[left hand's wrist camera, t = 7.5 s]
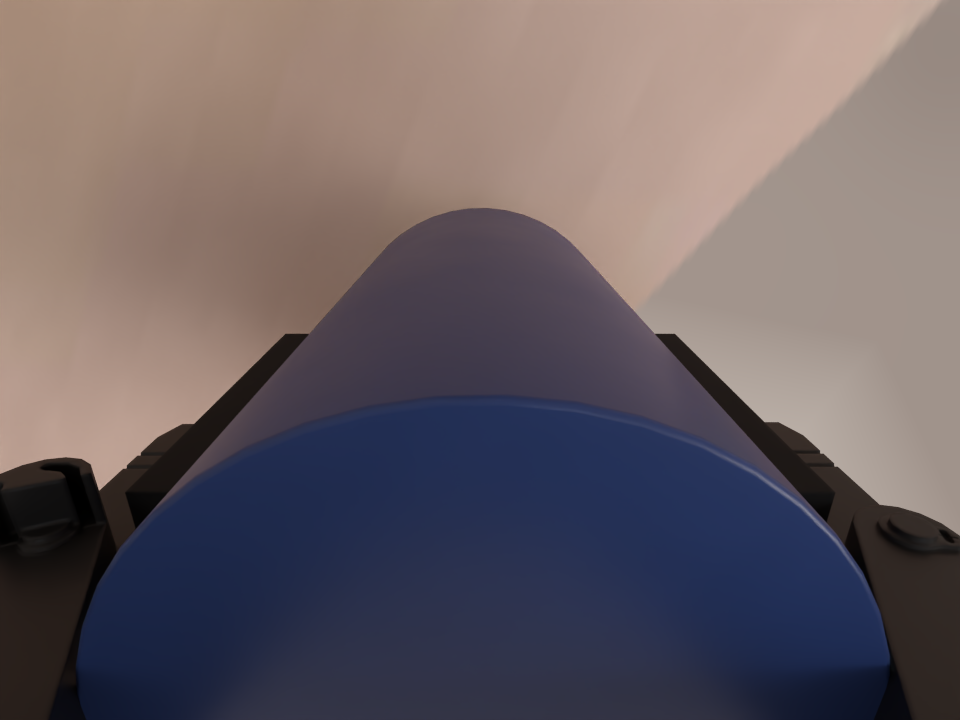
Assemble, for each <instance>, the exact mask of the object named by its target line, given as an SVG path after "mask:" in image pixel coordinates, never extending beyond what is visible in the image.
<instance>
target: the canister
mask: <svg viewBox="0 0 960 720" xmlns="http://www.w3.org/2000/svg"><path fill="white" fill-rule="evenodd" d="M889 677H890V654H889V649H888V645H887V640H886V636H885V631H884V626H883V622H882V617H881V613H880V610H879V608H878V606H877V603H876V601H875V599H874V597H873V594H872V592H871V590H870V587H869V585H868V583H867V581H866V578H865V576H864V574H863V572H862V570H861V569H860V567H859V566H858V564H857V563H856V561H855V560H854V559H853V557H852V556H851V554H850V553H849V551H848V550H847V548H846V547H845V545H844V544H843V543H842V541H841V540H840V538H839V537H838V535H837V534H836V533H835V532H834V531H833V529H832V528H831V527H830V526H829V525H828V524H827V523H826V522H825V521H824V520H823V518H822V517H821V516H820V515H819V514H818V513H817V512H816V511H815V510H814V509H813V507H812V506H811V505H810V504H809V503H808V502H807V501H806V500H805V499H804V498H803V496H802V495H801V494H800V493H799V492H798V491H797V490H796V489H795V488H794V487H793V485H792V484H791V483H790V482H789V481H788V480H787V479H786V478H785V477H784V476H783V474H782V473H781V472H780V471H779V470H778V469H777V468H776V467H775V466H774V465H773V463H772V462H771V461H770V460H769V459H768V458H767V457H766V456H765V455H764V454H763V452H762V451H761V450H760V449H759V448H758V447H757V446H756V445H755V444H754V443H753V441H752V440H751V439H750V438H749V437H748V436H747V435H746V434H745V433H744V432H743V431H742V429H741V428H740V427H739V426H738V425H737V424H736V423H735V422H734V421H733V420H732V418H731V417H730V416H729V415H728V414H727V413H726V412H725V411H724V410H723V409H722V407H721V406H720V405H719V404H718V403H717V402H716V401H715V400H714V399H713V398H712V396H711V395H710V394H709V393H708V392H707V391H706V390H705V389H704V388H703V387H702V385H701V384H700V383H699V382H698V381H697V380H696V379H695V378H694V377H693V376H692V374H691V373H690V372H689V371H688V370H687V369H686V368H685V367H684V366H683V365H682V363H681V362H680V361H679V360H678V359H677V358H676V357H675V356H674V355H673V354H672V352H671V351H670V350H669V349H668V348H667V347H666V346H665V345H664V344H663V343H662V341H661V340H660V339H659V338H658V337H657V336H656V335H655V334H654V333H653V332H652V330H651V329H650V328H649V327H648V326H647V325H646V324H645V323H644V322H643V321H642V319H641V318H640V317H639V316H638V315H637V314H636V313H635V312H634V311H633V310H632V308H631V307H630V306H629V305H628V304H627V303H626V302H625V301H624V300H623V299H622V298H621V296H620V295H619V294H618V293H617V292H616V291H615V290H614V289H613V288H612V287H611V285H610V284H609V283H608V282H607V281H606V280H605V279H604V278H603V277H602V276H601V274H600V273H599V272H598V271H597V270H596V269H595V268H594V267H593V266H592V265H591V263H590V262H589V261H588V260H587V259H586V258H585V257H584V256H583V255H582V254H581V253H580V252H579V250H578V249H577V248H576V247H575V246H574V245H573V244H572V243H571V242H570V241H569V240H567V239H566V238H565V237H563V236H562V235H561V234H559V233H558V232H557V231H556V230H554V229H552V228H550V227H549V226H547V225H545V224H543V223H542V222H540V221H537V220H535V219H532V218H530V217H527V216H525V215H522V214H518V213H514V212H510V211H506V210H499V209H490V208H475V209H463V210H457V211H451V212H447V213H444V214H441V215H437V216H434V217H432V218H429V219H427V220H425V221H423V222H421V223H419V224H416V225H415V226H413V227H412V228H410V229H409V230H407V231H405V232H404V233H402V234H401V235H400V236H399V237H397V238H396V239H395V240H394V241H393V242H392V243H390V244H389V245H388V246H387V247H386V248H385V250H384V251H383V252H382V253H381V254H380V255H379V256H378V257H377V259H376V260H375V261H374V262H373V263H372V264H371V265H370V266H369V268H368V269H367V270H366V271H365V272H364V273H363V274H362V275H361V277H360V278H359V279H358V280H357V281H356V282H355V283H354V284H353V286H352V287H351V288H350V289H349V290H348V291H347V292H346V293H345V295H344V296H343V297H342V298H341V299H340V300H339V301H338V302H337V303H336V305H335V306H334V307H333V308H332V309H331V310H330V311H329V312H328V314H327V315H326V316H325V317H324V318H323V319H322V320H321V321H320V323H319V324H318V325H317V326H316V327H315V328H314V329H313V330H312V332H311V333H310V334H309V335H308V336H307V337H306V338H305V339H304V341H303V342H302V343H301V344H300V345H299V346H298V347H297V348H296V350H295V351H294V352H293V353H292V354H291V355H290V356H289V357H288V359H287V360H286V361H285V362H284V363H283V364H282V365H281V366H280V368H279V369H278V370H277V371H276V372H275V373H274V374H273V375H272V377H271V378H270V379H269V380H268V381H267V382H266V383H265V384H264V386H263V387H262V388H261V389H260V390H259V391H258V392H257V393H256V395H255V396H254V397H253V398H252V399H251V400H250V401H249V402H248V404H247V405H246V406H245V407H244V408H243V409H242V410H241V411H240V413H239V414H238V415H237V416H236V417H235V418H234V419H233V420H232V422H231V423H230V424H229V425H228V426H227V427H226V428H225V429H224V431H223V432H222V433H221V434H220V435H219V436H218V437H217V438H216V440H215V441H214V442H213V443H212V444H211V445H210V446H209V447H208V449H207V450H206V451H205V452H204V453H203V454H202V455H201V456H200V458H199V459H198V460H197V461H196V462H195V463H194V464H193V465H192V467H191V468H190V469H189V470H188V471H187V472H186V473H185V474H184V476H183V477H182V478H181V479H180V480H179V481H178V482H177V483H176V485H175V486H174V487H173V488H172V489H171V490H170V491H169V492H168V494H167V495H166V496H165V497H164V498H163V499H162V500H161V501H160V503H159V504H158V505H157V506H156V507H155V508H154V509H153V510H152V512H151V513H150V514H149V515H148V516H147V517H146V518H145V519H144V521H143V522H142V523H141V524H140V525H139V526H138V527H137V528H136V530H135V531H134V532H133V533H132V534H131V535H130V536H129V537H128V539H127V540H126V541H125V542H124V543H123V544H122V545H121V547H120V548H119V550H118V551H117V553H116V555H115V556H114V558H113V560H112V561H111V563H110V565H109V566H108V568H107V570H106V571H105V573H104V575H103V576H102V578H101V580H100V581H99V583H98V584H97V587H96V590H95V592H94V595H93V598H92V601H91V603H90V606H89V609H88V611H87V614H86V617H85V620H84V622H83V625H82V629H81V635H80V642H79V649H78V655H77V662H76V688H77V695H78V698H79V701H80V705H81V708H82V710H83V713H84V715H85V718H86V720H874V718H875V715H876V713H877V710H878V708H879V705H880V703H881V700H882V698H883V695H884V693H885V690H886V688H887V684H888V681H889Z"/></svg>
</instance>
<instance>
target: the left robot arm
mask: <svg viewBox="0 0 960 720" xmlns="http://www.w3.org/2000/svg"><path fill="white" fill-rule="evenodd" d="M308 335H309V334H285V335H284V336H283V337H282V338H281V339H280V340H279V341H278V342H277V343H276V344H275V345H274V346H273V347H272V348H271V349H270V350H269V351H268V352H267V353H266V354H265V355H264V356H263V357H262V358H261V359H260V360H259V361H258V362H257V363H256V364H255V365H254V366H252V367H251V368H250V369H249V370H248V371H247V372H246V373H245V374H244V375H243V376H242V377H241V378H240V379H239V380H238V381H237V382H236V383H235V384H234V385H233V386H232V387H231V388H230V389H229V390H228V391H227V392H226V393H225V394H224V395H223V396H222V397H221V398H220V399H219V400H218V401H217V402H216V403H215V404H214V405H213V406H212V407H211V408H210V409H209V410H208V411H207V412H206V413H205V414H204V415H203V416H202V417H201V418H200V419H199V420H198V421H197V422H196V423H195V424H182V425H180V426H178V427H176V428H174V429H172V430H170V431H169V432H167V433H165V434H163V435H161V436H159V437H157V438H156V439H155V440H154V441H153V442H152V443H151V444H150V445H149V446H148V447H147V448H145V449H144V450H143V451H142V452H141V456H137V457H136V458H135V459H133V460H132V461H131V462H130V463H129V464H128V465H127V469H123V470H121V471H120V472H119V473H118V474H117V475H116V476H115V477H114V478H113V479H112V480H111V481H109V482H108V483H107V484H106V485H105V486H104V487H103V488H102V489H101V490H100V491H99V490H98V487H97V483H96V480H95V477H94V474H93V471H92V467H91V464H89V463H87V462H86V461H84V460H82V459H76V458H67V457H65V458H56V459H46V460H42V461H38V462H34V463H30V464H26V465H22V466H19V467H17V468H14V469H12V470H9V471H7V472H4V473H2V474H0V720H86V718H85V715H84V713H83V710H82V708H81V705H80V701H79V698H78V695H77V688H76V662H77V655H78V649H79V642H80V635H81V629H82V625H83V622H84V620H85V617H86V614H87V611H88V609H89V606H90V603H91V601H92V598H93V595H94V592H95V590H96V587H97V584H98V583H99V581H100V580H101V578H102V576H103V575H104V573H105V571H106V570H107V568H108V566H109V565H110V563H111V561H112V560H113V558H114V556H115V555H116V553H117V551H118V550H119V548H120V547H121V545H122V544H123V543H124V542H125V541H126V540H127V539H128V537H129V536H130V535H131V534H132V533H133V532H134V531H135V530H136V528H137V527H138V526H139V525H140V524H141V523H142V522H143V521H144V519H145V518H146V517H147V516H148V515H149V514H150V513H151V512H152V510H153V509H154V508H155V507H156V506H157V505H158V504H159V503H160V501H161V500H162V499H163V498H164V497H165V496H166V495H167V494H168V492H169V491H170V490H171V489H172V488H173V487H174V486H175V485H176V483H177V482H178V481H179V480H180V479H181V478H182V477H183V476H184V474H185V473H186V472H187V471H188V470H189V469H190V468H191V467H192V465H193V464H194V463H195V462H196V461H197V460H198V459H199V458H200V456H201V455H202V454H203V453H204V452H205V451H206V450H207V449H208V447H209V446H210V445H211V444H212V443H213V442H214V441H215V440H216V438H217V437H218V436H219V435H220V434H221V433H222V432H223V431H224V429H225V428H226V427H227V426H228V425H229V424H230V423H231V422H232V420H233V419H234V418H235V417H236V416H237V415H238V414H239V413H240V411H241V410H242V409H243V408H244V407H245V406H246V405H247V404H248V402H249V401H250V400H251V399H252V398H253V397H254V396H255V395H256V393H257V392H258V391H259V390H260V389H261V388H262V387H263V386H264V384H265V383H266V382H267V381H268V380H269V379H270V378H271V377H272V375H273V374H274V373H275V372H276V371H277V370H278V369H279V368H280V366H281V365H282V364H283V363H284V362H285V361H286V360H287V359H288V357H289V356H290V355H291V354H292V353H293V352H294V351H295V350H296V348H297V347H298V346H299V345H300V344H301V343H302V342H303V341H304V339H305V338H306V337H307V336H308ZM655 335H656V336H657V337H658V338H659V339H660V340H661V341H662V343H663V344H664V345H665V346H666V347H667V348H668V349H669V350H670V351H671V352H672V354H673V355H674V356H675V357H676V358H677V359H678V360H679V361H680V362H681V363H682V365H683V366H684V367H685V368H686V369H687V370H688V371H689V372H690V373H691V374H692V376H693V377H694V378H695V379H696V380H697V381H698V382H699V383H700V384H701V385H702V387H703V388H704V389H705V390H706V391H707V392H708V393H709V394H710V395H711V396H712V398H713V399H714V400H715V401H716V402H717V403H718V404H719V405H720V406H721V407H722V409H723V410H724V411H725V412H726V413H727V414H728V415H729V416H730V417H731V418H732V420H733V421H734V422H735V423H736V424H737V425H738V426H739V427H740V428H741V429H742V431H743V432H744V433H745V434H746V435H747V436H748V437H749V438H750V439H751V440H752V441H753V443H754V444H755V445H756V446H757V447H758V448H759V449H760V450H761V451H762V452H763V454H764V455H765V456H766V457H767V458H768V459H769V460H770V461H771V462H772V463H773V465H774V466H775V467H776V468H777V469H778V470H779V471H780V472H781V473H782V474H783V476H784V477H785V478H786V479H787V480H788V481H789V482H790V483H791V484H792V485H793V487H794V488H795V489H796V490H797V491H798V492H799V493H800V494H801V495H802V496H803V498H804V499H805V500H806V501H807V502H808V503H809V504H810V505H811V506H812V507H813V509H814V510H815V511H816V512H817V513H818V514H819V515H820V516H821V517H822V518H823V520H824V521H825V522H826V523H827V524H828V525H829V526H830V527H831V528H832V529H833V531H834V532H835V533H836V534H837V535H838V537H839V538H840V540H841V541H842V543H843V544H844V545H845V547H846V548H847V550H848V551H849V553H850V554H851V556H852V557H853V559H854V560H855V561H856V563H857V564H858V566H859V567H860V569H861V570H862V572H863V574H864V576H865V578H866V581H867V583H868V585H869V587H870V590H871V592H872V594H873V597H874V599H875V601H876V603H877V606H878V608H879V610H880V613H881V617H882V622H883V626H884V631H885V636H886V640H887V645H888V649H889V654H890V677H889V681H888V684H887V688H886V690H885V693H884V695H883V698H882V700H881V703H880V705H879V708H878V710H877V713H876V715H875V718H874V720H960V536H959V535H958V534H956V533H955V532H953V531H952V530H950V529H949V528H947V527H946V526H944V525H943V524H942V523H939V522H937V521H935V520H933V519H931V518H929V517H926V516H924V515H922V514H920V513H916V512H913V511H909V510H906V509H903V508H899V507H893V506H884V505H879V504H878V503H877V502H876V501H875V500H874V499H872V498H871V497H870V496H869V495H868V494H867V493H866V492H865V491H864V490H863V489H862V488H860V487H859V486H858V485H857V484H856V483H855V482H854V481H853V480H852V479H851V478H849V477H848V476H847V475H846V474H845V473H844V472H843V471H842V470H841V469H840V468H838V467H834V463H833V462H832V461H831V460H830V459H829V458H827V457H826V456H825V455H824V454H820V450H819V449H818V448H816V447H815V446H814V445H813V444H812V443H811V442H810V441H809V440H808V439H807V438H805V437H804V436H803V435H801V434H800V433H798V432H796V431H794V430H792V429H790V428H788V427H786V426H784V425H782V424H781V423H779V422H764V421H763V420H762V419H761V418H760V417H759V416H758V415H757V414H756V413H754V412H753V411H752V410H751V409H750V408H749V407H748V406H747V405H746V404H745V403H744V402H743V401H742V400H741V399H740V398H739V397H738V396H737V395H736V394H735V393H734V392H733V391H732V390H731V389H730V388H729V387H728V386H727V385H726V384H725V383H724V382H723V381H722V380H721V379H720V378H719V377H718V376H717V375H716V374H715V373H714V372H713V371H712V370H711V369H710V368H709V367H708V366H707V365H706V364H705V363H704V362H703V361H702V360H701V359H700V358H699V357H698V356H697V355H696V354H695V353H694V352H693V351H692V350H691V349H690V348H689V347H688V346H687V345H686V344H685V343H684V342H683V341H682V340H680V339H679V338H678V337H677V336H676V335H675V334H655Z"/></svg>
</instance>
